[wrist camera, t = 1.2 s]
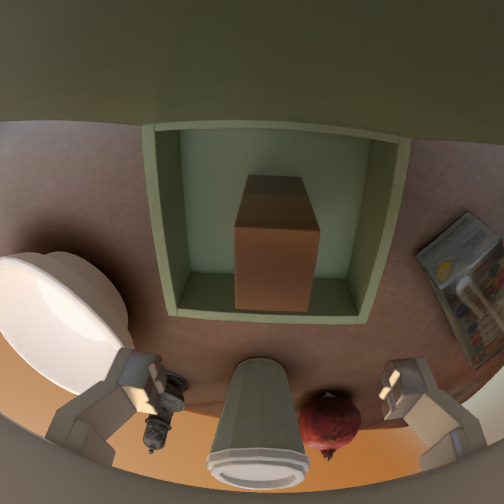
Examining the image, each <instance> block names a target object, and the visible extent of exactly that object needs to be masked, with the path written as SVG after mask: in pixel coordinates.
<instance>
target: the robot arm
mask: <svg viewBox="0 0 504 504" xmlns="http://www.w3.org/2000/svg"><path fill="white" fill-rule="evenodd" d="M161 363H162V357H161V355H160V354H156V353H151V352H145V351H139V350H134V349H129V348H124V347H121V348H120V349H119V350H118V352H117V354H116V356H115V358H114V360H113V362H112V365H111V367H110V369H109V371H108V373H107V375H106V378H105V380H104V381H102V380H100V381H99V382H97V383H96V384H94V385H93V386H92V387H90V388H89V389H87V390H86V391H84V392H83V393H81V394H80V395H78V396H77V397H76V398H74V399H73V400H71V401H70V402H69V403H67V404H65V405H64V406H62V407H61V408H59V409H58V410H57V411H56V413H55V415H54V417H53V420H52V422H51V424H50V426H49V429H48V431H47V433H46V436H45V438H44V437H42V436H40V435H38V434H36V433H34V432H32V431H30V430H29V429H27V428H25V427H23V426H22V425H20V424H18V423H17V422H15V421H13V420H12V419H10V418H8V417H7V416H5V415H4V414H2V413H1V412H0V504H504V438H503V439H501V440H499V441H497V442H496V443H493V444H491V445H489V446H487V443H486V440H485V437H484V434H483V431H482V428H481V425H480V422H479V420H478V419H477V418H476V417H475V416H473V415H472V414H471V413H470V412H469V411H468V410H466V409H465V408H464V407H463V406H461V405H460V404H459V403H458V402H457V401H456V400H454V399H453V398H452V397H451V396H449V395H448V394H447V393H446V392H445V391H443V390H442V389H438V386H437V384H436V381H435V379H434V376H433V374H432V371H431V369H430V367H429V364H428V362H427V360H426V358H425V357H415V358H404V359H396V360H389V361H388V362H387V363H386V365H385V369H386V370H385V371H383V372H382V373H381V374H380V376H379V378H378V382H377V392H378V396H379V397H380V398H381V399H382V400H383V402H382V405H381V408H382V413H383V417H384V420H389V419H396V418H403V417H404V418H403V419H404V420H405V421H406V422H407V423H408V425H409V426H410V427H411V428H412V429H413V430H414V431H415V433H416V434H417V435H418V436H419V437H420V438H421V439H422V441H423V442H424V443H425V444H426V445H427V446H428V448H429V449H428V450H427V451H426V452H425V453H423V454H422V455H421V456H420V458H419V459H420V465H421V470H422V472H419V473H416V474H412V475H409V476H405V477H401V478H397V479H393V480H389V481H384V482H379V483H374V484H369V485H363V486H358V487H351V488H345V489H336V490H327V491H314V492H299V493H298V492H296V493H257V492H239V491H226V490H216V489H208V488H202V487H195V486H188V485H183V484H178V483H173V482H168V481H163V480H159V479H154V478H151V477H147V476H143V475H139V474H136V473H132V472H129V471H125V470H122V469H119V468H116V467H113V466H112V463H113V459H114V456H115V450H114V449H113V448H112V447H111V446H110V445H109V444H108V443H107V442H106V440H107V439H108V438H109V437H110V436H111V435H113V434H114V432H116V431H117V430H118V429H119V428H120V427H121V426H122V425H123V424H124V423H125V422H127V420H128V419H130V418H131V417H132V416H133V415H134V414H135V413H136V411H139V412H144V413H150V414H155V415H157V414H158V411H159V407H160V404H161V398H160V396H159V394H161V393H162V392H163V391H164V390H165V386H166V381H167V373H166V369H165V367H164V366H163V365H162V364H161Z"/></svg>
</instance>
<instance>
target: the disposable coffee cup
mask: <svg viewBox="0 0 504 504" xmlns="http://www.w3.org/2000/svg"><path fill="white" fill-rule="evenodd" d="M206 461H207V464H206V468H207V469H208V470H210V471H211V473H210V474H211V475H213V476H214V477H215V478H216V479H217V480H219V481H221V482H223V483H226V484H229V485H232V486H235V487H241V488H246V489H253V490H268V489H280V488H286V487H291V486H295V485H297V484H298V483H300V482H301V481H303V480H304V479H305V472H307V471H308V470H309V468H310V467H309V466H310V459H309V457H308V455H306V454H305V450H304V446H303V442H302V437H301V433H300V429H299V425H298V421H297V417H296V412H295V408H294V404H293V400H292V396H291V391H290V387H289V383H288V379H287V375H286V372H285V369H283V367H282V365H281V364H279V363H278V362H276V361H275V360H272V359H267V358H261V357H260V358H252V359H247V360H245V361H243V362H241V363H240V364H238V366H237V368H235V371H234V373H233V375H232V379H231V382H230V386H229V389H228V393H227V396H226V400H225V403H224V406H223V410H222V413H221V417H220V420H219V424H218V427H217V431H216V434H215V437H214V441H213V444H212V447H211V451H210V454H209V455H208V457H207V459H206Z"/></svg>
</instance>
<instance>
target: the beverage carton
mask: <svg viewBox="0 0 504 504" xmlns="http://www.w3.org/2000/svg"><path fill="white" fill-rule="evenodd" d="M416 259H417V261H418V262H419V264H420V266H421V268H422V269H423V271H424V273H425V274H426V276H427V278H428V280H429V282H430V284H431V286H432V288H433V290H434V292H435V294H436V296H437V298H438V300H439V302H440V304H441V307H442V309H443V311H444V313H445V316H446V318H447V320H448V322H449V324H450V327H451V329H452V331H453V333H454V335H455V337H456V339H457V342H458V343H459V345H460V347H461V349H462V351H463V353H464V354H465V356H466V358H467V360H468V362H469V363H470V365H471V366H472V368H473V370H474V371H476V370H477V369H478V368H480V367H481V366H482V365H483V364H484V363H486V362H487V361H488V360H489V359H491V358H492V357H494V356H495V355H497V354H498V353H499V352H500V351H501V350H502V349H503V348H504V247H503V241H502V238H501V237H500V236H499V235H498V234H497V233H496V232H494V231H493V230H492V229H491V228H490V227H489V226H488V225H486V224H485V223H484V222H483V221H481V220H480V219H479V218H478V217H475V216H473V215H472V214H470V213H469V212H466V213H465V214H464V215H463V216H462V217H461V218H460V219H458V220H457V221H456V222H455V223H454V224H453V225H452V226H450V227H449V228H448V229H447V230H446V231H445V232H443V233H442V234H441V235H440V236H439V237H438V238H436V239H435V240H434V241H433V242H431V243H430V244H429V245H428V246H426V247H425V248H424V249H422V250H421V251H420V252H419V253H418V254H416Z"/></svg>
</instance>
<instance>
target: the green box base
mask: <svg viewBox="0 0 504 504" xmlns="http://www.w3.org/2000/svg"><path fill="white" fill-rule="evenodd" d="M141 135H142V149H143V160H144V171H145V180H146V189H147V198H148V206H149V213H150V220H151V227H152V233H153V240H154V246H155V252H156V258H157V263H158V269H159V274H160V279H161V284H162V289H163V294H164V299H165V303H166V308H167V312H168V315H169V316H179V317H188V318H200V319H212V320H226V321H242V322H261V323H288V324H366V322H367V319H368V317H369V314H370V311H371V308H372V305H373V302H374V300H375V297H376V294H377V290H378V287H379V284H380V281H381V278H382V275H383V271H384V268H385V265H386V261H387V258H388V254H389V250H390V247H391V243H392V239H393V235H394V231H395V227H396V223H397V219H398V214H399V210H400V205H401V201H402V196H403V191H404V186H405V180H406V175H407V169H408V163H409V157H410V150H411V143H412V139H411V138H407V137H402V136H397V135H392V134H386V133H381V132H375V131H369V130H362V129H355V128H348V127H340V126H332V125H323V124H312V123H300V122H286V121H264V120H204V121H183V122H168V123H156V124H146V125H141ZM248 175H272V176H291V177H301V178H302V180H303V183H304V186H305V188H306V191H307V194H308V197H309V199H310V202H311V205H312V208H313V210H314V213H315V216H316V219H317V222H318V225H319V228H320V231H321V234H320V241H319V248H318V254H317V261H316V267H315V273H314V279H313V285H312V291H311V296H310V302H309V307H308V311H307V312H298V311H268V310H247V309H236V307H235V269H234V225H235V221H236V217H237V213H238V210H239V206H240V202H241V198H242V194H243V191H244V187H245V183H246V180H247V176H248Z"/></svg>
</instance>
